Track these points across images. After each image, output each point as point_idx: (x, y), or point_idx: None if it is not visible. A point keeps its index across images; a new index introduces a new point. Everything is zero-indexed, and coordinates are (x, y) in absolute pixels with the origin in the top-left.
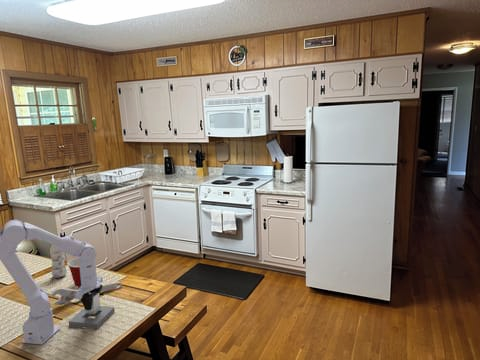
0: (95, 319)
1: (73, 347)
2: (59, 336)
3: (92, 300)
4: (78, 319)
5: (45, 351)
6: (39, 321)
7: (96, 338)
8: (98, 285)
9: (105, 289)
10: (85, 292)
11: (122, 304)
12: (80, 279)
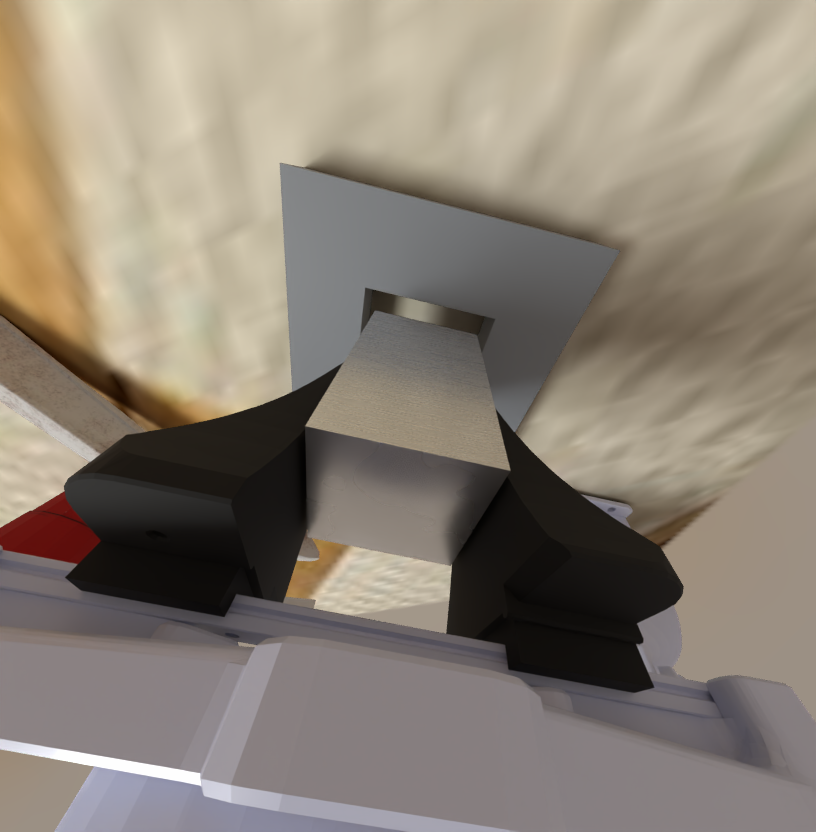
0: (516, 302)
1: (789, 350)
2: (582, 461)
3: (494, 441)
4: None
5: (708, 477)
6: (657, 635)
7: (786, 183)
8: (372, 818)
9: (62, 382)
10: (756, 794)
11: (154, 115)
12: (88, 537)
